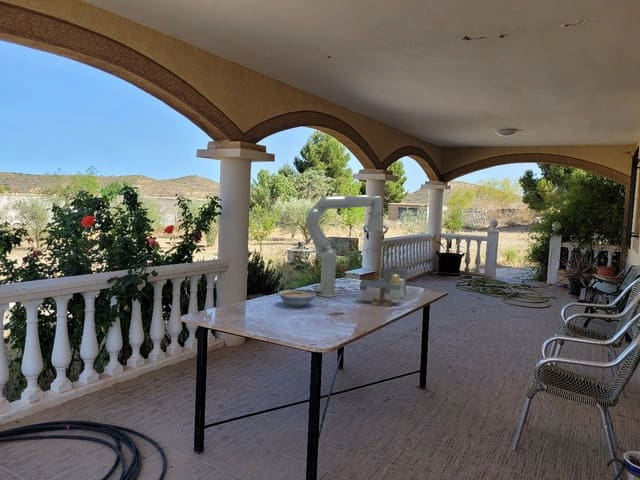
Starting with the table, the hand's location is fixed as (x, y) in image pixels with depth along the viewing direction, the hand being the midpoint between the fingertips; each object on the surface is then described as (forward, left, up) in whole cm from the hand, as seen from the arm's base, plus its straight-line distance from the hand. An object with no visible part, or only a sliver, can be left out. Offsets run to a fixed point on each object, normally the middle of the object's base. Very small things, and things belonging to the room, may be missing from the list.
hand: (375, 239), depth 311 cm
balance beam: (+5, -21, -30) cm, 37 cm away
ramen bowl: (-43, -43, -38) cm, 72 cm away
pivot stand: (+7, -21, -38) cm, 44 cm away
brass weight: (+15, -21, -27) cm, 37 cm away
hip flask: (+14, +15, -38) cm, 44 cm away
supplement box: (+16, 0, -38) cm, 42 cm away
